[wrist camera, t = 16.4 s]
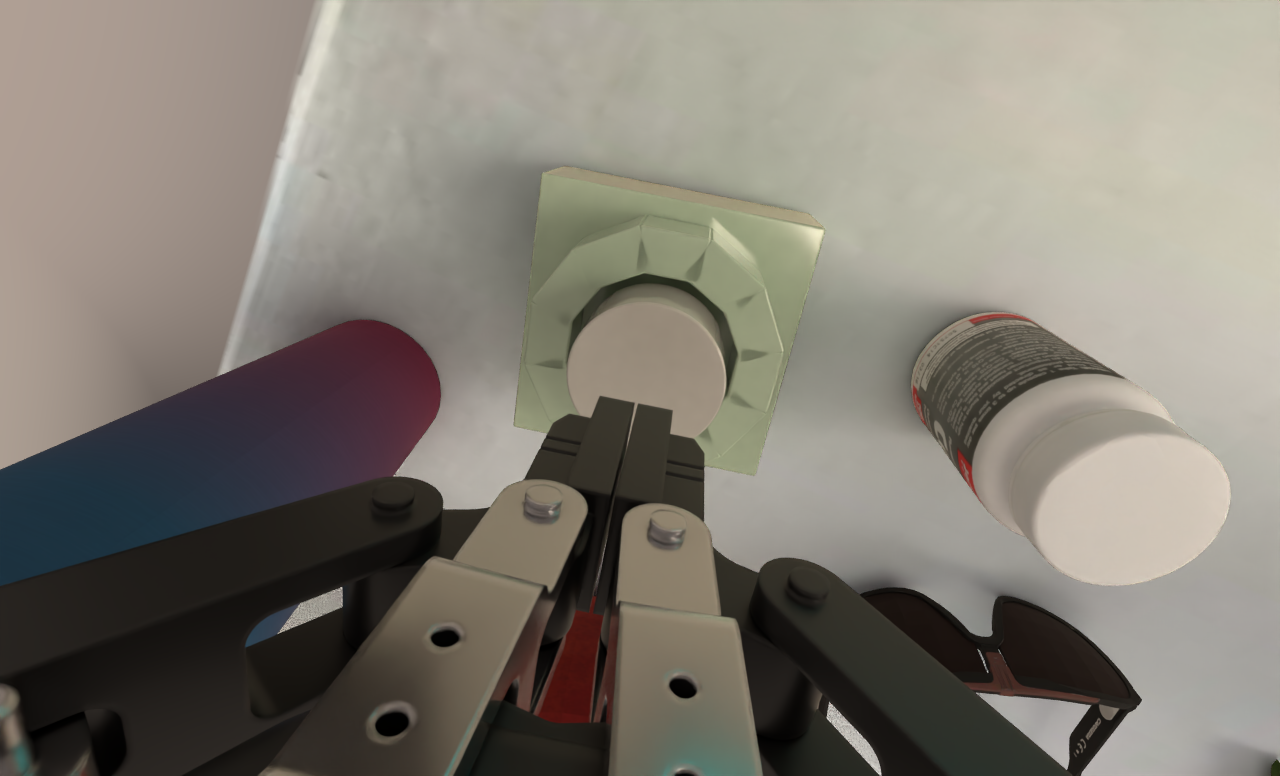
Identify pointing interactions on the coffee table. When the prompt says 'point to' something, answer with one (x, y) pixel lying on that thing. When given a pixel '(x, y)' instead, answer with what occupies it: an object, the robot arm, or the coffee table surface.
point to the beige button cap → (651, 356)
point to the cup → (223, 452)
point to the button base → (676, 256)
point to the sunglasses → (1018, 661)
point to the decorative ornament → (1275, 768)
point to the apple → (574, 671)
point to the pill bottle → (1068, 451)
